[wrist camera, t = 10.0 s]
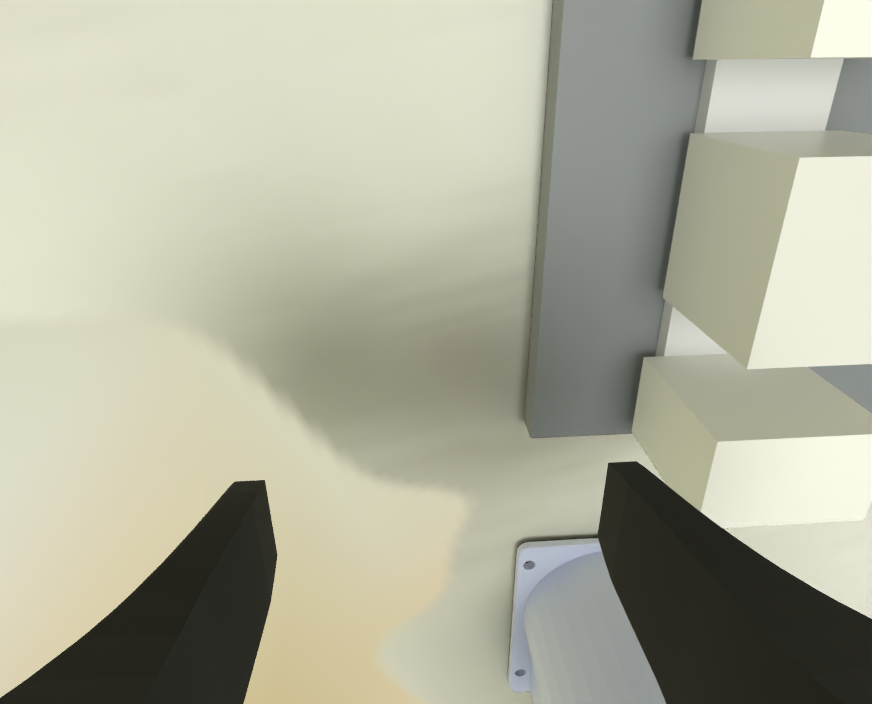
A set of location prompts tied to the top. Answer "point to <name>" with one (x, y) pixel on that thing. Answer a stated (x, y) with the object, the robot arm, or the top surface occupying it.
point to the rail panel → (652, 238)
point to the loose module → (777, 246)
